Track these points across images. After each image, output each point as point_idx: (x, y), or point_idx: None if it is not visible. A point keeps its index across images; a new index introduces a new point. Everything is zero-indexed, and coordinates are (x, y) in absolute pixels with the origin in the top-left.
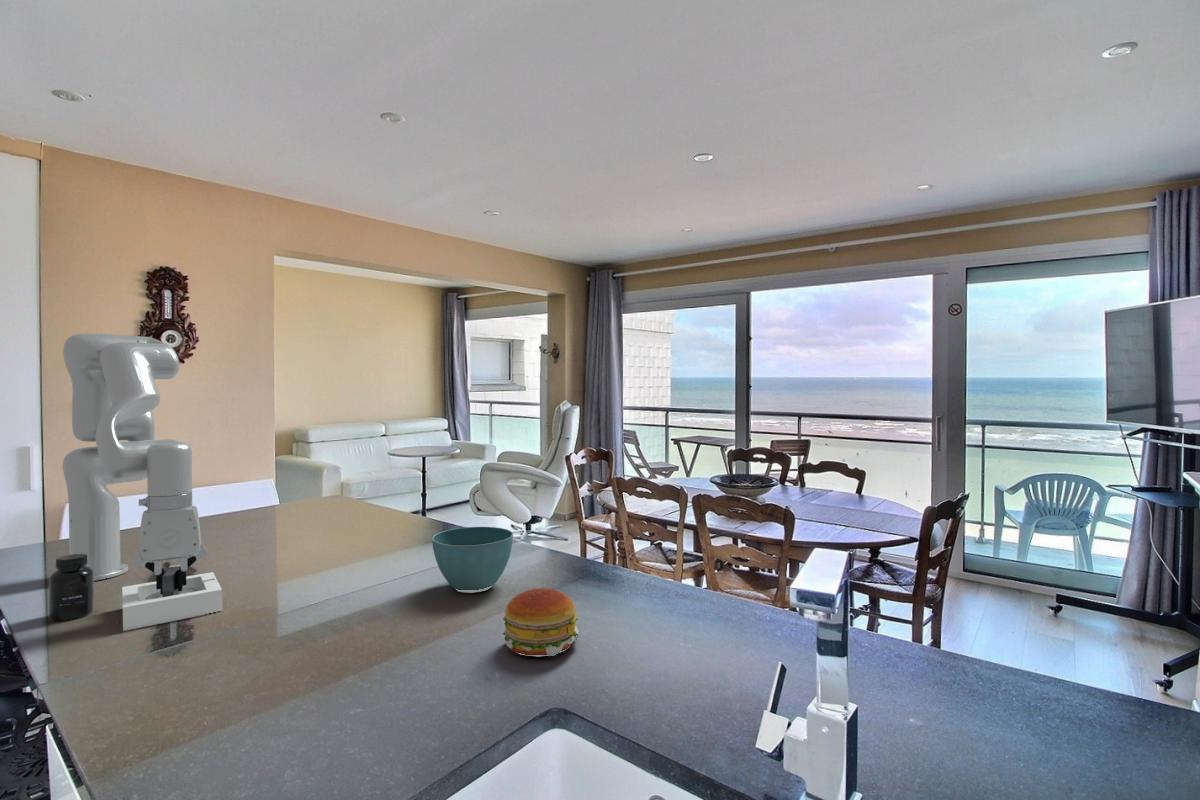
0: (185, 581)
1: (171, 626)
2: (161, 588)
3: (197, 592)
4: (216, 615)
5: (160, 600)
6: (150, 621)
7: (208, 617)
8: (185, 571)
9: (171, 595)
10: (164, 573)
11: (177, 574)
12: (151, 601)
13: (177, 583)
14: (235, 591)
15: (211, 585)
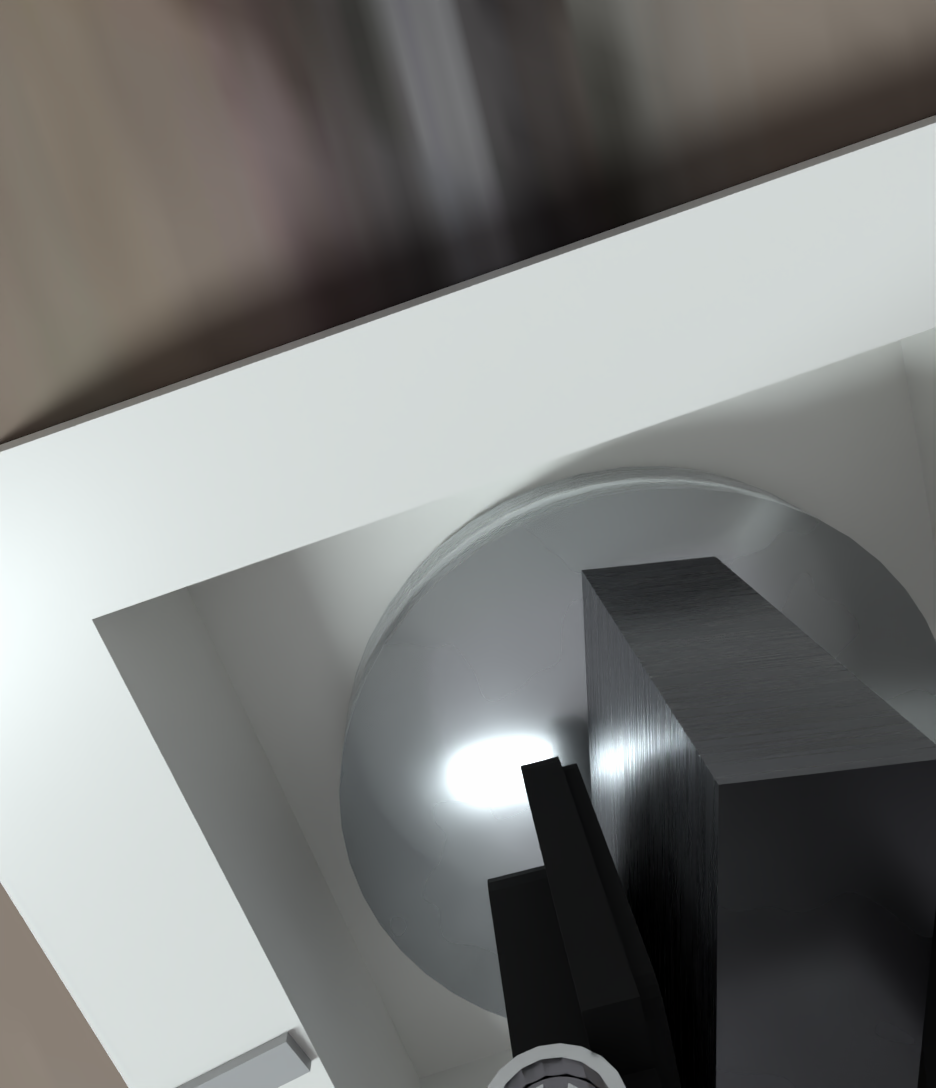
0: (502, 910)
1: (453, 55)
2: None
3: (194, 493)
4: (2, 306)
5: (718, 208)
6: (730, 188)
7: (82, 260)
8: (528, 1082)
9: (623, 594)
10: (929, 1037)
11: (679, 1077)
12: (857, 210)
13: None
14: (103, 1085)
15: (94, 822)
